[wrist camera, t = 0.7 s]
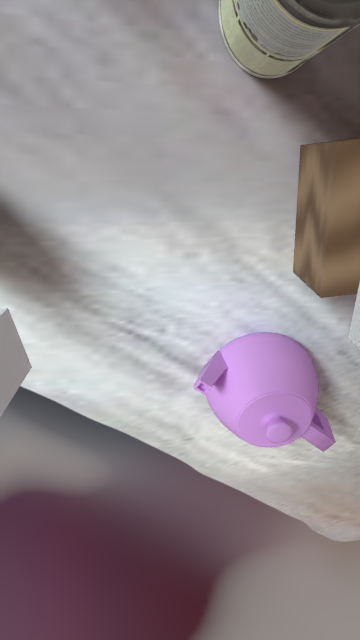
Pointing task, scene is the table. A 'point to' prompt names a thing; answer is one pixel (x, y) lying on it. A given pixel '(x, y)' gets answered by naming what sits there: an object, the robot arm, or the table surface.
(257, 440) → the teapot
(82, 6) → the table surface
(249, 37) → the coffee can
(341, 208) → the walnut block
